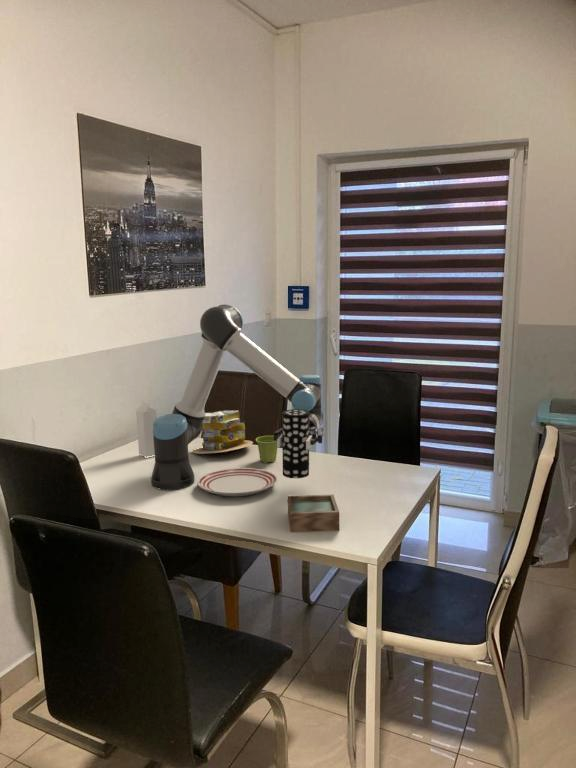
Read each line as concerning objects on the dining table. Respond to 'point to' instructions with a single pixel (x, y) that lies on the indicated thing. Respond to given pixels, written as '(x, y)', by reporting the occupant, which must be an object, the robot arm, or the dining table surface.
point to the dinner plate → (237, 481)
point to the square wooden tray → (313, 513)
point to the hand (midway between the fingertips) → (292, 444)
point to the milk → (146, 429)
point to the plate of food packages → (222, 432)
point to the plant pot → (267, 448)
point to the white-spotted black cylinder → (295, 443)
